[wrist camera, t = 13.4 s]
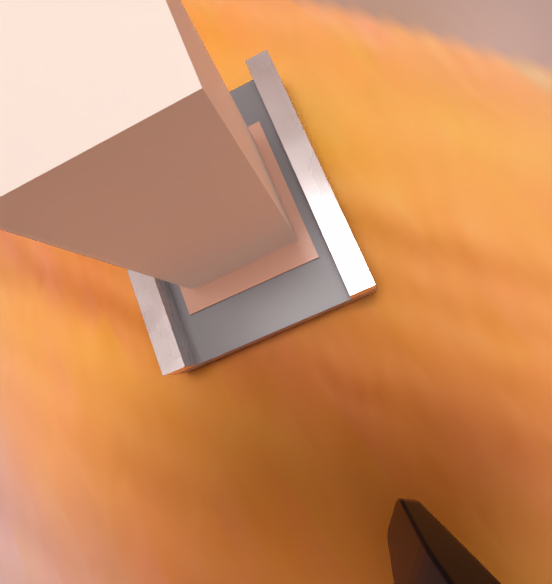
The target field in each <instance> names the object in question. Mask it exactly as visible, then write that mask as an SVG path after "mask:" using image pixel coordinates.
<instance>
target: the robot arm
mask: <svg viewBox="0 0 552 584" xmlns="http://www.w3.org/2000/svg"><path fill="white" fill-rule="evenodd" d="M388 545H389V552H390V558H391V565H392V571H393V578H394V584H501V583H500V582H499V581H498V580H497V579H496V578H495V577H494V576H493V575H492V574H491V573H490V572H489V571H488V570H487V569H486V568H485V567H484V566H483V565H482V564H481V563H480V562H479V561H478V560H477V559H476V558H475V557H474V556H473V555H472V554H471V553H470V552H469V551H468V550H467V549H466V548H465V547H464V546H463V545H462V544H461V543H460V542H459V541H458V540H457V539H456V538H455V537H454V536H453V535H452V534H451V533H450V532H449V531H448V530H447V529H446V528H445V527H444V526H443V525H442V524H441V523H440V522H439V521H438V520H437V519H436V518H435V517H434V516H433V515H432V514H431V513H430V512H429V511H428V510H427V509H426V508H425V507H424V506H423V505H422V504H421V503H420V502H418V501H416V500H410V499H402V498H401V499H398V500H397V502H396V504H395V507H394V511H393V514H392V518H391V521H390V525H389V528H388Z"/></svg>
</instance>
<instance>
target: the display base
mask: <svg viewBox="0 0 552 584" xmlns="http://www.w3.org/2000/svg"><path fill="white" fill-rule="evenodd" d="M246 64H247V66H248V69H249V71H250V73H251V76H252V78H253V80H252V81H250V82H248V83H246V84H244V85H242V86H240V87H238V88H236V89H235V90H233V91H231V92H229V93H230V95H231V97H232V98H233V100H234V102H235V104H236V106H237V108H238V110H239V112H240V113H241V115H242V117H243V119H244V121H245V123H246V125H247V127H248V129H249V130H250V132H251V134H252V136H253V138H254V140H255V142H256V144H257V147H258V149H259V151H260V154H261V156H262V158H263V161H264V163H265V165H266V167H267V170H268V172H269V174H270V177H271V179H272V181H273V184H274V186H275V188H276V190H277V193H278V195H279V197H280V200H281V202H282V204H283V207H284V209H285V211H286V213H287V216H288V218H289V220H290V223H291V225H292V227H293V230H294V232H295V234H296V236H297V239H298V241H297V242H295V243H292V244H290V245H288V246H286V247H284V248H281V249H279V250H277V251H275V252H273V253H271V254H268V255H266V256H264V257H262V258H260V259H258V260H255V261H253V262H251V263H249V264H247V265H245V266H242V267H240V268H238V269H236V270H234V271H232V272H229V273H227V274H225V275H223V276H221V277H218V278H216V279H214V280H212V281H210V282H208V283H205V284H203V285H201V286H199V287H197V288H195V289H189V288H186V287H183V286H180V285H176V284H173V283H170V282H167V281H164V280H160V279H157V278H154V277H151V276H148V275H144V274H141V273H138V272H135V271H132V270H128V269H127V271H128V274H129V277H130V280H131V283H132V286H133V289H134V292H135V295H136V298H137V301H138V304H139V307H140V310H141V313H142V316H143V318H144V321H145V324H146V327H147V330H148V333H149V336H150V339H151V342H152V345H153V348H154V351H155V354H156V357H157V360H158V363H159V366H160V369H161V372H162V375H163V376H166V375H172V374H180V373H186V372H189V371H191V370H194V369H196V368H199V367H201V366H203V365H206V364H208V363H210V362H213V361H215V360H217V359H220V358H222V357H224V356H227V355H229V354H231V353H234V352H236V351H238V350H241V349H243V348H245V347H248V346H250V345H252V344H255V343H257V342H259V341H262V340H264V339H266V338H269V337H271V336H274V335H276V334H278V333H281V332H283V331H285V330H288V329H290V328H292V327H295V326H297V325H299V324H302V323H304V322H306V321H309V320H311V319H313V318H316V317H318V316H320V315H323V314H325V313H327V312H330V311H332V310H334V309H337V308H339V307H341V306H344V305H346V304H349V303H351V302H353V301H356V300H358V299H360V298H363V297H365V296H367V295H370V294H372V293H374V292H376V289H377V288H376V286H375V285H376V284H375V282H374V280H373V278H372V276H371V273H370V271H369V269H368V267H367V265H366V263H365V261H364V258H363V256H362V254H361V252H360V250H359V248H358V245H357V243H356V241H355V239H354V237H353V235H352V232H351V230H350V228H349V226H348V224H347V222H346V219H345V217H344V215H343V213H342V211H341V209H340V207H339V204H338V202H337V200H336V198H335V196H334V194H333V191H332V189H331V187H330V185H329V183H328V181H327V178H326V176H325V174H324V172H323V170H322V168H321V166H320V163H319V161H318V159H317V157H316V155H315V153H314V150H313V148H312V146H311V144H310V142H309V140H308V137H307V135H306V133H305V131H304V129H303V127H302V124H301V122H300V120H299V118H298V116H297V114H296V112H295V109H294V107H293V105H292V103H291V101H290V99H289V96H288V94H287V92H286V90H285V88H284V86H283V83H282V81H281V79H280V77H279V75H278V73H277V71H276V68H275V66H274V64H273V62H272V60H271V58H270V55H269V53H268V51H267V50H265V51H263V52H261V53H259V54H258V55H256V56H254V57H252V58H250V59H248V60H246Z"/></svg>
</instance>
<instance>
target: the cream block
mask: <svg viewBox="0 0 552 584" xmlns="http://www.w3.org/2000/svg"><path fill="white" fill-rule="evenodd" d="M0 229H1V230H4V231H7V232H10V233H13V234H17V235H20V236H23V237H26V238H29V239H33V240H36V241H39V242H42V243H45V244H49V245H52V246H55V247H58V248H61V249H65V250H68V251H71V252H74V253H77V254H81V255H84V256H87V257H90V258H93V259H97V260H100V261H103V262H106V263H109V264H112V265H116V266H119V267H122V268H125V269H128V270H132V271H135V272H138V273H141V274H144V275H148V276H151V277H154V278H157V279H160V280H164V281H167V282H170V283H173V284H176V285H180V286H183V287H186V288H189V289H195V288H197V287H199V286H201V285H203V284H205V283H208V282H210V281H212V280H214V279H216V278H218V277H221V276H223V275H225V274H227V273H229V272H232V271H234V270H236V269H238V268H240V267H242V266H245V265H247V264H249V263H251V262H253V261H255V260H258V259H260V258H262V257H264V256H266V255H268V254H271V253H273V252H275V251H277V250H279V249H281V248H284V247H286V246H288V245H290V244H292V243H295V242H297V241H298V239H297V236H296V234H295V232H294V230H293V227H292V225H291V223H290V220H289V218H288V216H287V213H286V211H285V209H284V207H283V204H282V202H281V200H280V197H279V195H278V193H277V190H276V188H275V186H274V184H273V181H272V179H271V177H270V174H269V172H268V170H267V167H266V165H265V163H264V161H263V158H262V156H261V154H260V151H259V149H258V147H257V144H256V142H255V140H254V138H253V136H252V134H251V132H250V130H249V129H248V127H247V125H246V123H245V121H244V119H243V117H242V115H241V113H240V112H239V110H238V108H237V106H236V104H235V102H234V100H233V98H232V97H231V95H230V93H229V91H228V89H227V87H226V85H225V83H224V82H223V80H222V78H221V76H220V74H219V72H218V70H217V68H216V67H215V65H214V63H213V61H212V59H211V57H210V55H209V53H208V51H207V50H206V48H205V46H204V44H203V42H202V40H201V38H200V36H199V35H198V33H197V31H196V29H195V27H194V25H193V23H192V21H191V20H190V18H189V16H188V14H187V12H186V10H185V8H184V6H183V5H182V3H181V1H180V0H0Z"/></svg>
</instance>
